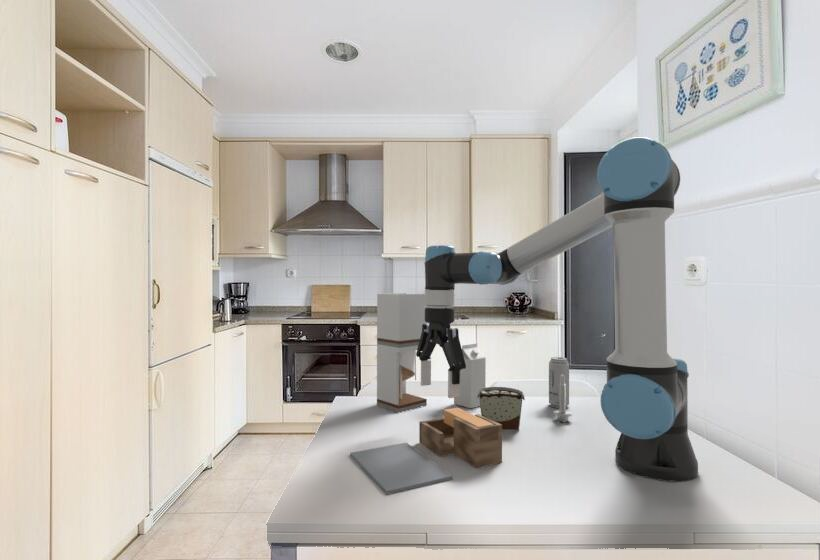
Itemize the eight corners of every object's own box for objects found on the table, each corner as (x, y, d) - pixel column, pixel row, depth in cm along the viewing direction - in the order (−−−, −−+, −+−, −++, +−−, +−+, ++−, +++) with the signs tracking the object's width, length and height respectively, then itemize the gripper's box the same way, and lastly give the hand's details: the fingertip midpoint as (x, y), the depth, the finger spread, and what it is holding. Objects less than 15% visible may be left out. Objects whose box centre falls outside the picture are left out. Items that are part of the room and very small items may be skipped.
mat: (452, 478, 85) (452, 475, 85) (386, 494, 79) (386, 491, 79) (406, 445, 103) (406, 442, 103) (349, 455, 96) (350, 452, 96)
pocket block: (515, 459, 95) (515, 422, 95) (461, 471, 88) (461, 432, 88) (467, 433, 111) (467, 402, 111) (419, 442, 104) (419, 409, 104)
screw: (568, 417, 124) (574, 423, 119) (551, 417, 124) (556, 423, 119) (568, 372, 124) (574, 375, 119) (551, 372, 124) (556, 375, 120)
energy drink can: (545, 404, 139) (545, 356, 139) (562, 403, 140) (562, 356, 140) (554, 409, 133) (554, 360, 133) (572, 408, 134) (572, 359, 134)
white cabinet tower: (399, 412, 129) (399, 294, 129) (376, 405, 136) (377, 293, 137) (426, 405, 136) (426, 293, 137) (404, 398, 144) (404, 293, 144)
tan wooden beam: (493, 438, 93) (493, 424, 93) (478, 441, 92) (478, 427, 92) (457, 420, 106) (457, 407, 106) (443, 422, 104) (443, 409, 104)
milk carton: (453, 404, 138) (453, 344, 138) (468, 400, 143) (468, 342, 143) (470, 409, 133) (471, 346, 133) (485, 404, 137) (485, 344, 138)
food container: (521, 423, 119) (521, 386, 119) (524, 431, 113) (524, 392, 113) (475, 421, 120) (475, 385, 120) (476, 429, 114) (477, 391, 114)
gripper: (481, 309, 101) (480, 401, 101) (428, 304, 123) (427, 379, 123) (453, 310, 97) (453, 405, 97) (404, 304, 119) (403, 382, 119)
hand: (438, 391), depth 110 cm, fingers open, 13 cm apart
